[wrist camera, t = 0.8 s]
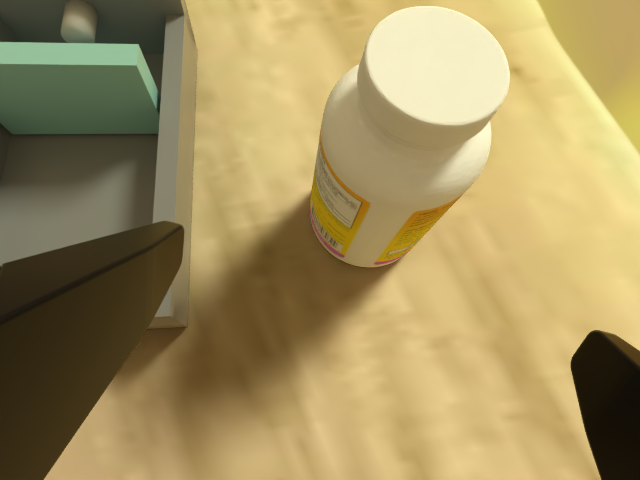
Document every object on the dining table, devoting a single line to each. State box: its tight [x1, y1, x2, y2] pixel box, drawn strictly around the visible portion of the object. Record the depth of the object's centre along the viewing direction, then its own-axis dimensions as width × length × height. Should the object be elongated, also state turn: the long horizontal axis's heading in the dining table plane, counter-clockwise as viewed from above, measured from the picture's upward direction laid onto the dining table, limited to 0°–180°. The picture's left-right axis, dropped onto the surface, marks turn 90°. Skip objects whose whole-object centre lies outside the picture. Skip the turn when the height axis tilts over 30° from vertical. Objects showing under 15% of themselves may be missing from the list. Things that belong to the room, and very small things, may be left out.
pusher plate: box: [0, 42, 161, 134], centre depth 22 cm, size 1×8×6 cm, turn 93°
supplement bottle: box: [310, 6, 510, 267], centre depth 19 cm, size 7×7×13 cm
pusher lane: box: [0, 0, 197, 329], centre depth 21 cm, size 18×11×7 cm, turn 4°
